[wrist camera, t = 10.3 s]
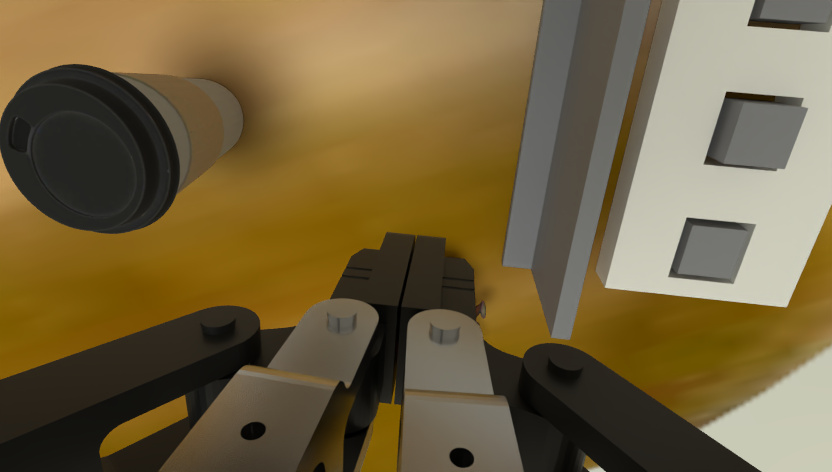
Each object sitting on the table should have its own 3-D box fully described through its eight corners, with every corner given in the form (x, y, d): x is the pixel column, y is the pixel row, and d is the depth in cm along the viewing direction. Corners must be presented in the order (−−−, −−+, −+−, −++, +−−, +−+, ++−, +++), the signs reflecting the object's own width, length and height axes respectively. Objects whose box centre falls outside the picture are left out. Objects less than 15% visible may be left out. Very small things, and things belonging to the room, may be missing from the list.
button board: (684, -89, 31) (706, -101, 28) (911, -74, 30) (957, -85, 27) (595, 270, 41) (604, 287, 38) (764, 288, 40) (786, 307, 38)
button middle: (720, 97, 34) (743, 102, 31) (779, 102, 33) (808, 108, 31) (702, 153, 35) (723, 163, 32) (759, 158, 35) (784, 169, 32)
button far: (676, 211, 38) (692, 225, 35) (727, 216, 38) (748, 230, 35) (662, 257, 40) (677, 273, 37) (712, 262, 40) (730, 279, 37)
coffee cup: (142, 54, 37) (-44, 65, 24) (259, 55, 37) (137, 67, 23) (166, 172, 41) (16, 241, 27) (273, 175, 40) (174, 247, 27)
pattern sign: (558, -97, 31) (605, -161, 21) (652, -91, 31) (744, -152, 21) (501, 260, 41) (514, 333, 31) (571, 268, 41) (607, 343, 31)
